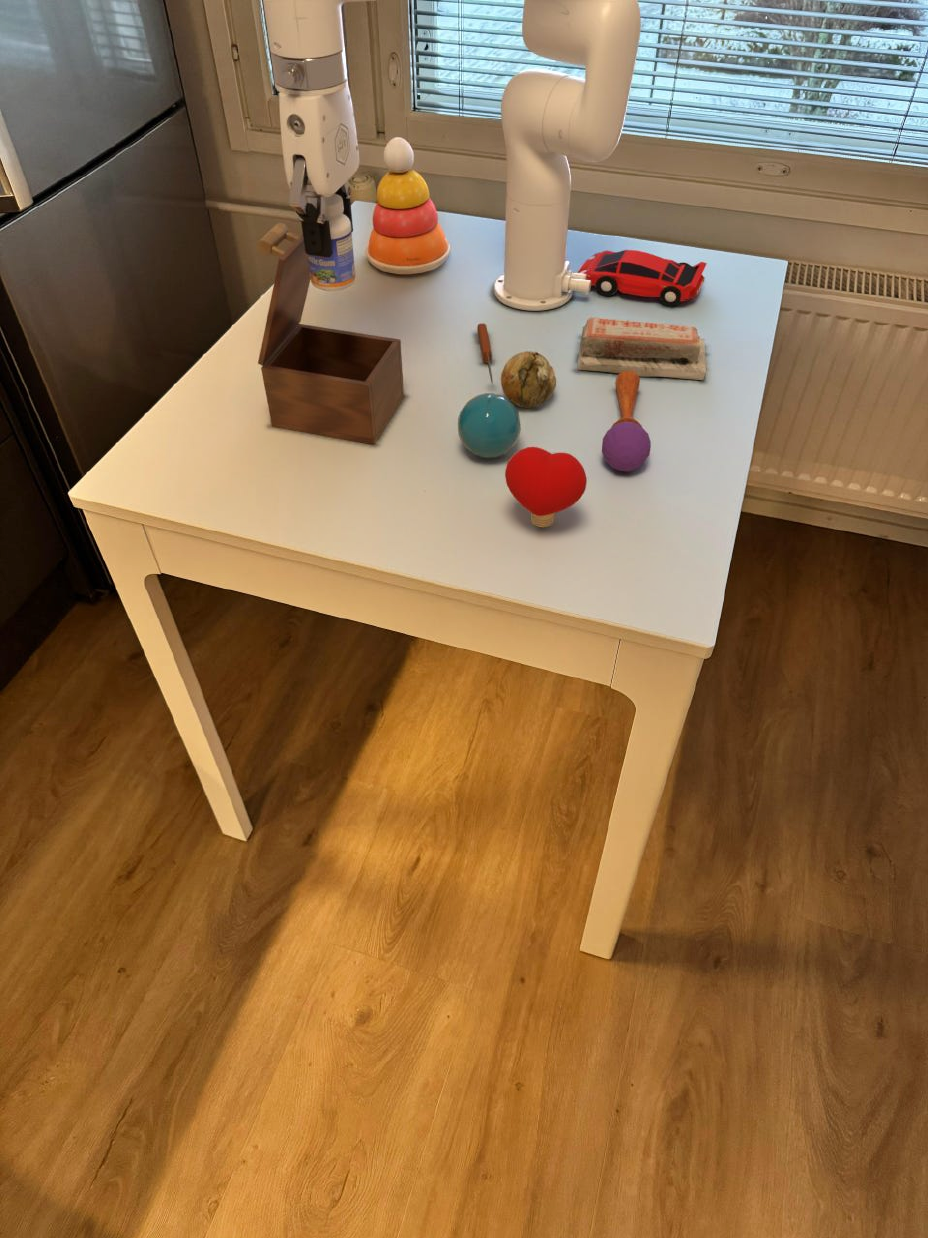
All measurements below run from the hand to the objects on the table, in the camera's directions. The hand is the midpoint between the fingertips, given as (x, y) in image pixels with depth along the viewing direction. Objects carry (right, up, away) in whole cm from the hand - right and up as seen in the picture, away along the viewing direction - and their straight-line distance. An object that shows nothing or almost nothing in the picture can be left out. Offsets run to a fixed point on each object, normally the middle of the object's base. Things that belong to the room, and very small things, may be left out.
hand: (329, 241), depth 106 cm
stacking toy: (+6, +17, +48) cm, 51 cm away
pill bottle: (0, -3, +4) cm, 5 cm away
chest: (-1, -16, +17) cm, 24 cm away
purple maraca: (+37, -20, +14) cm, 44 cm away
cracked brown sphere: (+25, -14, +19) cm, 34 cm away
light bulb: (+25, -33, +1) cm, 41 cm away
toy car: (+44, +9, +41) cm, 61 cm away
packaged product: (+41, -6, +26) cm, 50 cm away
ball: (+19, -23, +11) cm, 31 cm away
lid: (-5, -4, +6) cm, 9 cm away
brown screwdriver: (+19, -7, +26) cm, 33 cm away
